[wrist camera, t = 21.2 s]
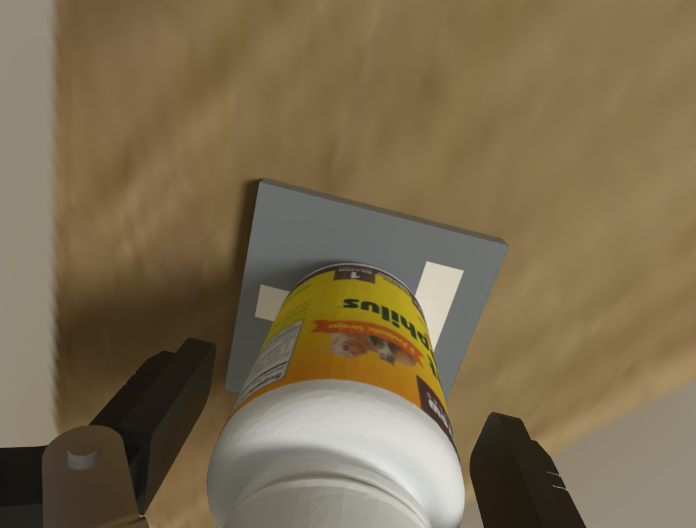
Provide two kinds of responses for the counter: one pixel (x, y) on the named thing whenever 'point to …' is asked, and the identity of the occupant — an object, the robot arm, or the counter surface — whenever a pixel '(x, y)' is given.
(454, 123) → the counter surface
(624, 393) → the counter surface
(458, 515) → the supplement bottle
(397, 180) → the counter surface
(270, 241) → the board
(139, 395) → the robot arm
